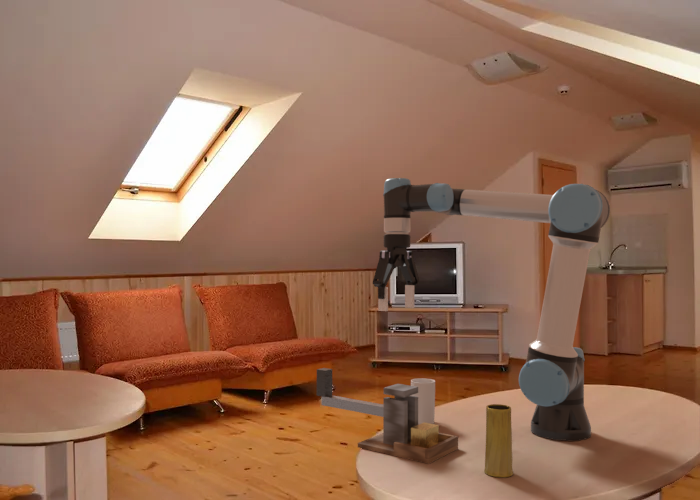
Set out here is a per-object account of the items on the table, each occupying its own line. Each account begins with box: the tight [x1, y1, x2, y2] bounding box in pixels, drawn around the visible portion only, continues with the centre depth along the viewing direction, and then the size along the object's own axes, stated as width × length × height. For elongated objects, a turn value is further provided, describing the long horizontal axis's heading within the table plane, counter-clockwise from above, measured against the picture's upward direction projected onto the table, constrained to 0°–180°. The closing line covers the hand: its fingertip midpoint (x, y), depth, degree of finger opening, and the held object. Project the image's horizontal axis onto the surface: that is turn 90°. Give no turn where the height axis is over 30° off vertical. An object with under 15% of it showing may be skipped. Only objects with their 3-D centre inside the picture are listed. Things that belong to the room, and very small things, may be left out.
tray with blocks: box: [357, 383, 459, 465], centre depth 155 cm, size 20×14×14 cm
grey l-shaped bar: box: [316, 367, 383, 418], centre depth 164 cm, size 26×3×9 cm, turn 53°
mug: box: [410, 378, 436, 425], centre depth 179 cm, size 10×7×12 cm, turn 161°
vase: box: [484, 403, 514, 479], centre depth 137 cm, size 6×6×14 cm
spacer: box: [411, 422, 440, 448], centre depth 152 cm, size 5×6×4 cm
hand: (396, 309), depth 178 cm, fingers open, 13 cm apart
